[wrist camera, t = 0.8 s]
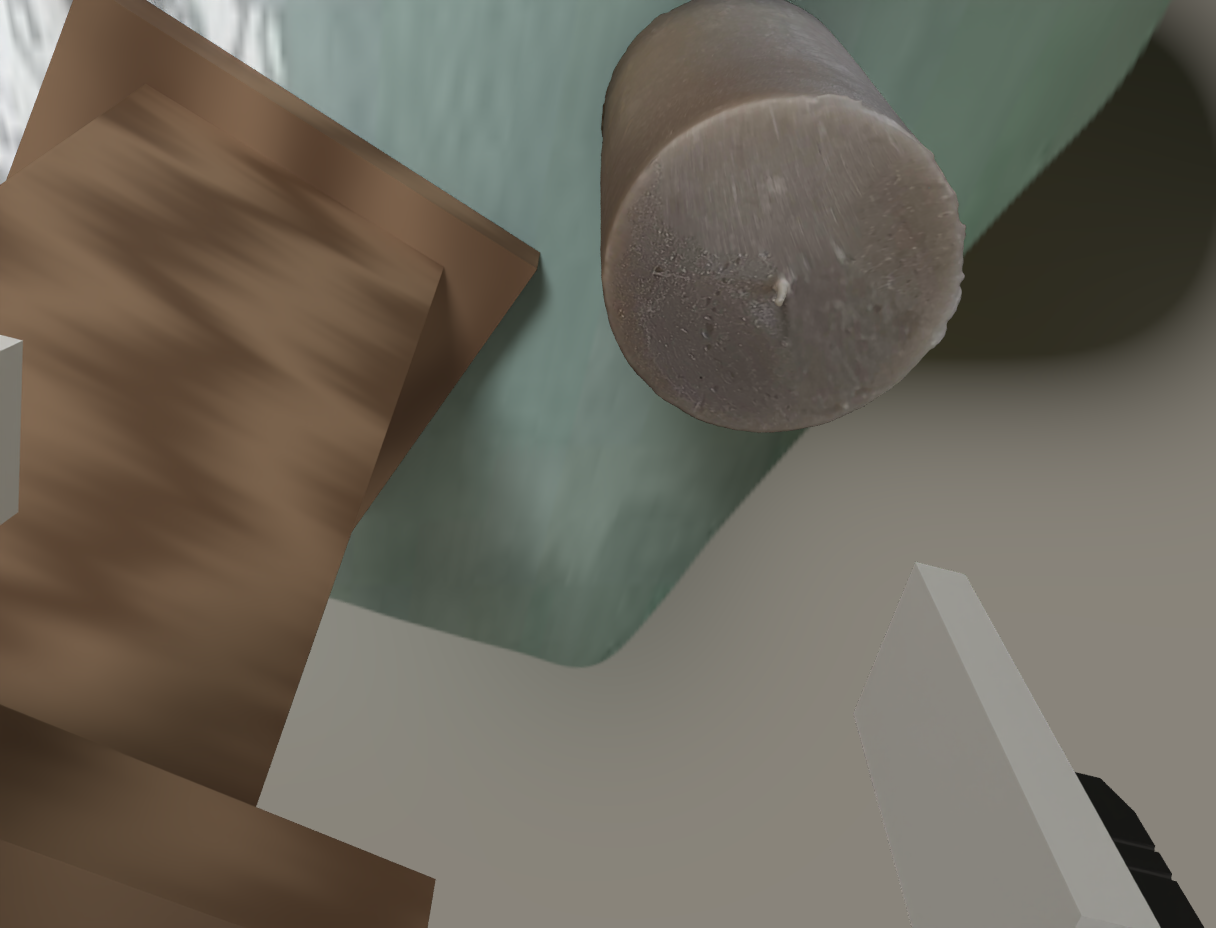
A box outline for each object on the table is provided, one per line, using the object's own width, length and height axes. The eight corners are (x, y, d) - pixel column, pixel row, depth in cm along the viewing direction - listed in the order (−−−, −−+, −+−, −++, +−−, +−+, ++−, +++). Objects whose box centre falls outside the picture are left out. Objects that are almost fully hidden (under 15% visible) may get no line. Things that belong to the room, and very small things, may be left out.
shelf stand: (-30, 315, 43) (-897, 1061, 19) (100, -29, 36) (-1059, 456, 11) (357, 513, 49) (86, 1288, 24) (539, 252, 42) (416, 989, 17)
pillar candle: (592, 240, 41) (586, 451, 29) (612, -28, 36) (615, 93, 23) (834, 257, 42) (929, 473, 29) (891, -4, 36) (1037, 127, 24)
